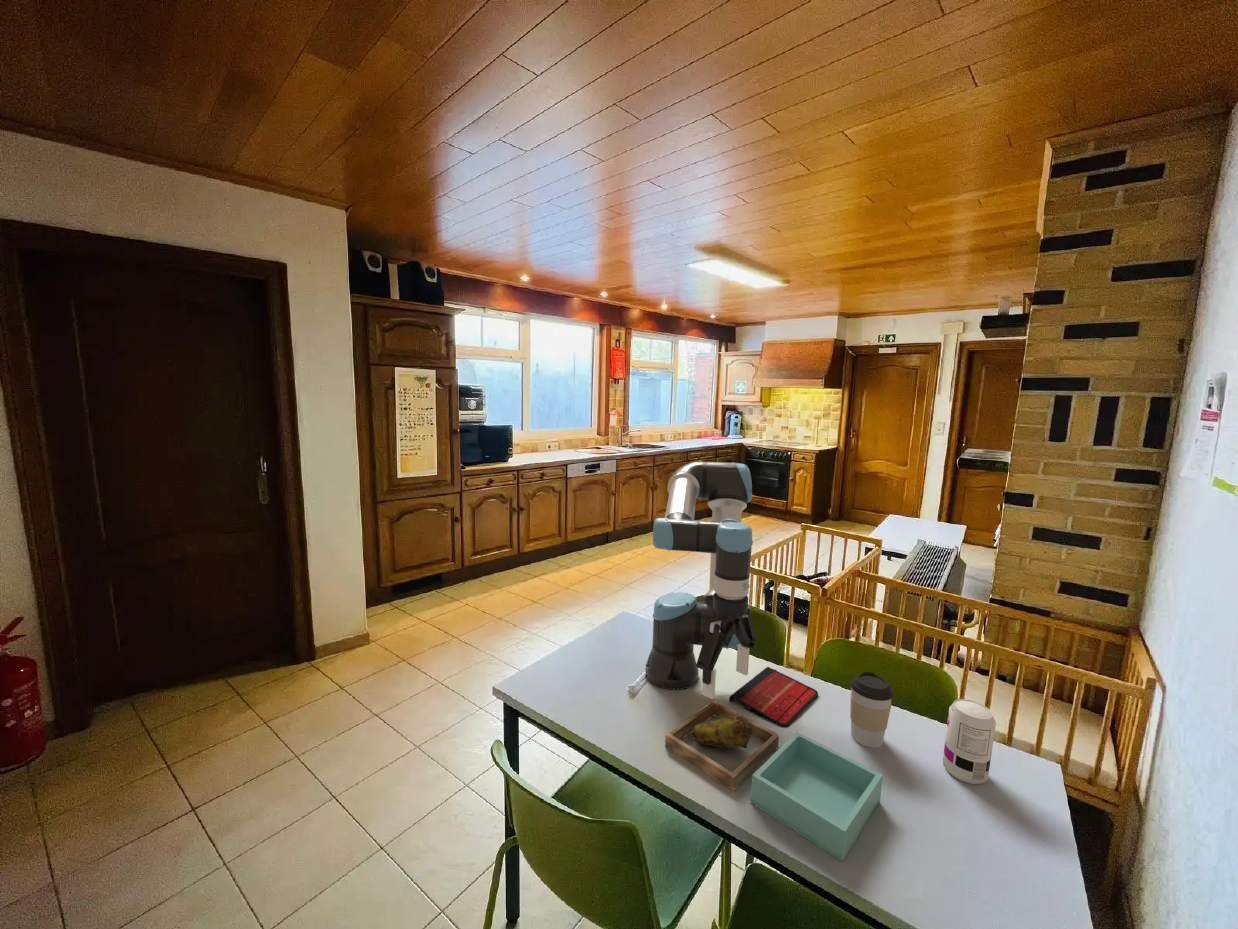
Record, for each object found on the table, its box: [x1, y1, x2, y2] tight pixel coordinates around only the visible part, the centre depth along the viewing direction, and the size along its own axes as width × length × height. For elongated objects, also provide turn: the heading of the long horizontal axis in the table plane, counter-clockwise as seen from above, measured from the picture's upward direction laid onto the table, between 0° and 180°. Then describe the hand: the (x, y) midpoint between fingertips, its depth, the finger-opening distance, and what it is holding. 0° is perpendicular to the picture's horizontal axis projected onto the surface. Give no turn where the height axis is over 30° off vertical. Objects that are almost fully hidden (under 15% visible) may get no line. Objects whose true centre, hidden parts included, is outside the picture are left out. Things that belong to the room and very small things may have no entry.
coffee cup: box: [849, 671, 894, 748], centre depth 121 cm, size 9×9×15 cm
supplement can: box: [942, 698, 997, 785], centre depth 110 cm, size 8×8×15 cm
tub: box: [750, 731, 884, 863], centre depth 102 cm, size 18×19×6 cm
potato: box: [691, 716, 753, 749], centre depth 117 cm, size 8×13×8 cm, turn 53°
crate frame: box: [664, 700, 780, 791], centre depth 117 cm, size 18×19×3 cm
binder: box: [729, 666, 819, 728], centre depth 137 cm, size 16×2×21 cm
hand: (725, 684), depth 115 cm, fingers open, 13 cm apart
